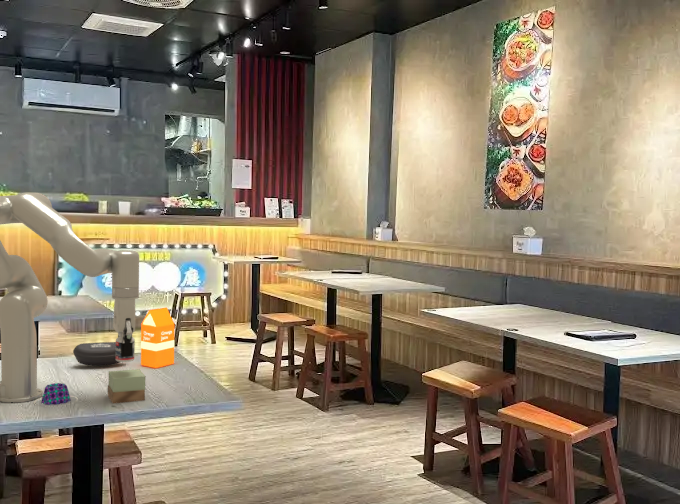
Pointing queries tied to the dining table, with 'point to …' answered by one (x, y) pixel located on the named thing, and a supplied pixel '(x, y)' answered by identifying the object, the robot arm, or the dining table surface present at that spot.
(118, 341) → the pill bottle
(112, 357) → the glasses case
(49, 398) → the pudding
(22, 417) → the dining table surface
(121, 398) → the tower base slab
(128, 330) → the robot arm
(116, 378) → the tower top slab
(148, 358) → the orange juice
